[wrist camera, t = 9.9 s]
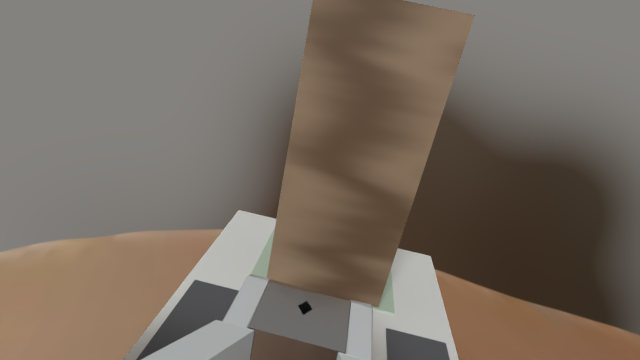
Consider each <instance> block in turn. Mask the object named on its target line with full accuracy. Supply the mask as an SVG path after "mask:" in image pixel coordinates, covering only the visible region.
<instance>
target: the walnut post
mask: <svg viewBox="0 0 640 360" xmlns="http://www.w3.org/2000/svg"><path fill="white" fill-rule="evenodd" d="M473 18H474V15H472V14H467V13H462V12H457V11H452V10H447V9H442V8H437V7H433V6H428V5H423V4H417V3H413V2H408V1H403V0H313V3H312V9H311V15H310V21H309V27H308V33H307V39H306V45H305V51H304V57H303V63H302V69H301V75H300V81H299V87H298V93H297V99H296V105H295V111H294V117H293V123H292V129H291V135H290V141H289V147H288V153H287V159H286V165H285V171H284V177H283V183H282V189H281V195H280V201H279V207H278V213H277V219H276V225H275V231H274V237H273V243H272V249H271V255H270V261H269V267H268V273H267V278H268V279H273V280H276V281H280V282H283V283H287V284H290V285H294V286H298V287H301V288H305V289H308V290H311V291H315V292H319V293H323V294H327V295H331V296H336V297H340V298H344V299H348V300H354V301H359V302H363V303H367V304H371V305H372V306H375V307H378V306H379V303H380V300H381V297H382V294H383V291H384V288H385V285H386V282H387V279H388V276H389V273H390V270H391V267H392V264H393V261H394V258H395V255H396V252H397V249H398V246H399V242H400V240H401V237H402V234H403V230H404V227H405V224H406V221H407V218H408V215H409V212H410V209H411V206H412V203H413V200H414V197H415V194H416V191H417V188H418V185H419V182H420V179H421V176H422V173H423V170H424V167H425V164H426V161H427V158H428V155H429V152H430V149H431V146H432V142H433V140H434V136H435V134H436V131H437V127H438V125H439V122H440V118H441V115H442V112H443V109H444V106H445V103H446V100H447V97H448V94H449V91H450V88H451V85H452V82H453V79H454V76H455V73H456V70H457V67H458V64H459V61H460V58H461V55H462V52H463V49H464V46H465V43H466V40H467V37H468V34H469V31H470V28H471V25H472V22H473Z"/></svg>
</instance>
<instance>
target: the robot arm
mask: <svg viewBox="0 0 640 360" xmlns="http://www.w3.org/2000/svg"><path fill="white" fill-rule="evenodd" d="M372 332H373V307H372V305H371V304H367V303H363V302H359V301H354V300H348V299H344V298H340V297H336V296H331V295H327V294H323V293H319V292H315V291H311V290H308V289H305V288H301V287H298V286H294V285H290V284H287V283H283V282H280V281H276V280H273V279H268V278H264V277H261V276H257V275H253V274H250V275H248V276H247V277H246V279H245V281H244V283H243V285H242V286H241V288H240V290H239V292H238V294H237V296H236V297H235V299H234V301H233V303H232V305H231V307H230V308H229V310H228V312H227V314H226V316H225V317H224V319H223V321H219V320H215V321H213V322H211V323H209V324H207V325H205V326H203V327H201V328H200V329H198V330H196V331H194V332H192V333H190V334H188V335H186V336H184V337H183V338H181V339H179V340H177V341H175V342H173V343H171V344H169V345H167V346H166V347H164V348H162V349H160V350H158V351H156V352H154V353H152V354H150V355H149V356H147V357H145V358H143V359H141V360H372Z"/></svg>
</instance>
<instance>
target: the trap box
mask: <svg viewBox="0 0 640 360" xmlns="http://www.w3.org/2000/svg"><path fill="white" fill-rule="evenodd" d="M275 225H276V219H274V218H270V217H265V216H261V215H257V214H253V213H249V212H245V211H241V210H239V211H238V212H237V213H236V214H235V216H234V217H233V218H232V220H231V221H230V222H229V223H228V225H227V226H226V227H225V229H224V230H223V231H222V232H221V234H220V235H219V236H218V238H217V239H216V240H215V241H214V243H213V244H212V245H211V247H210V248H209V249H208V251H207V252H206V253H205V254H204V256H203V257H202V258H201V260H200V261H199V262H198V263H197V265H196V266H195V267H194V269H193V270H192V271H191V272H190V274H189V275H188V276H187V278H186V279H185V280H184V281H183V283H182V284H181V285H180V287H179V288H178V289H177V290H176V292H175V293H174V294H173V296H172V297H171V298H170V300H169V301H168V302H167V303H166V305H165V306H164V307H163V309H162V310H161V311H160V312H159V314H158V315H157V316H156V318H155V319H154V320H153V321H152V323H151V324H150V325H149V327H148V328H147V329H146V330H145V332H144V333H143V334H142V336H141V337H140V338H139V339H138V341H137V342H136V343H135V345H134V346H133V347H132V348H131V350H130V351H129V352H128V354H127V355H126V356H125V358H124V359H123V360H141V359H143V358H145V357H147V356H149V355H150V354H152V353H154V352H156V351H158V350H160V349H162V348H164V347H166V346H167V345H169V344H171V343H173V342H175V341H177V340H179V339H181V338H183V337H184V336H186V335H188V334H190V333H192V332H194V331H196V330H198V329H200V328H201V327H203V326H205V325H207V324H209V323H211V322H213V321H215V320H219V321H223V319H224V317H225V316H226V314H227V312H228V310H229V308H230V307H231V305H232V303H233V301H234V299H235V297H236V296H237V294H238V292H239V290H240V288H241V286H242V285H243V283H244V281H245V279H246V277H247V276H248V275H250V274H253V275H257V276H261V277H264V278H267V273H268V267H269V261H270V255H271V249H272V243H273V237H274V231H275ZM372 307H373V332H372V360H459V359H458V356H457V352H456V348H455V345H454V341H453V337H452V333H451V330H450V326H449V322H448V319H447V315H446V311H445V308H444V304H443V300H442V296H441V293H440V289H439V285H438V282H437V278H436V274H435V271H434V267H433V263H432V260H431V256H427V255H423V254H419V253H415V252H411V251H407V250H402V249H397V252H396V255H395V258H394V261H393V264H392V267H391V270H390V273H389V276H388V279H387V282H386V285H385V288H384V291H383V294H382V297H381V300H380V303H379V306H378V307H375V306H372Z"/></svg>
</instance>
